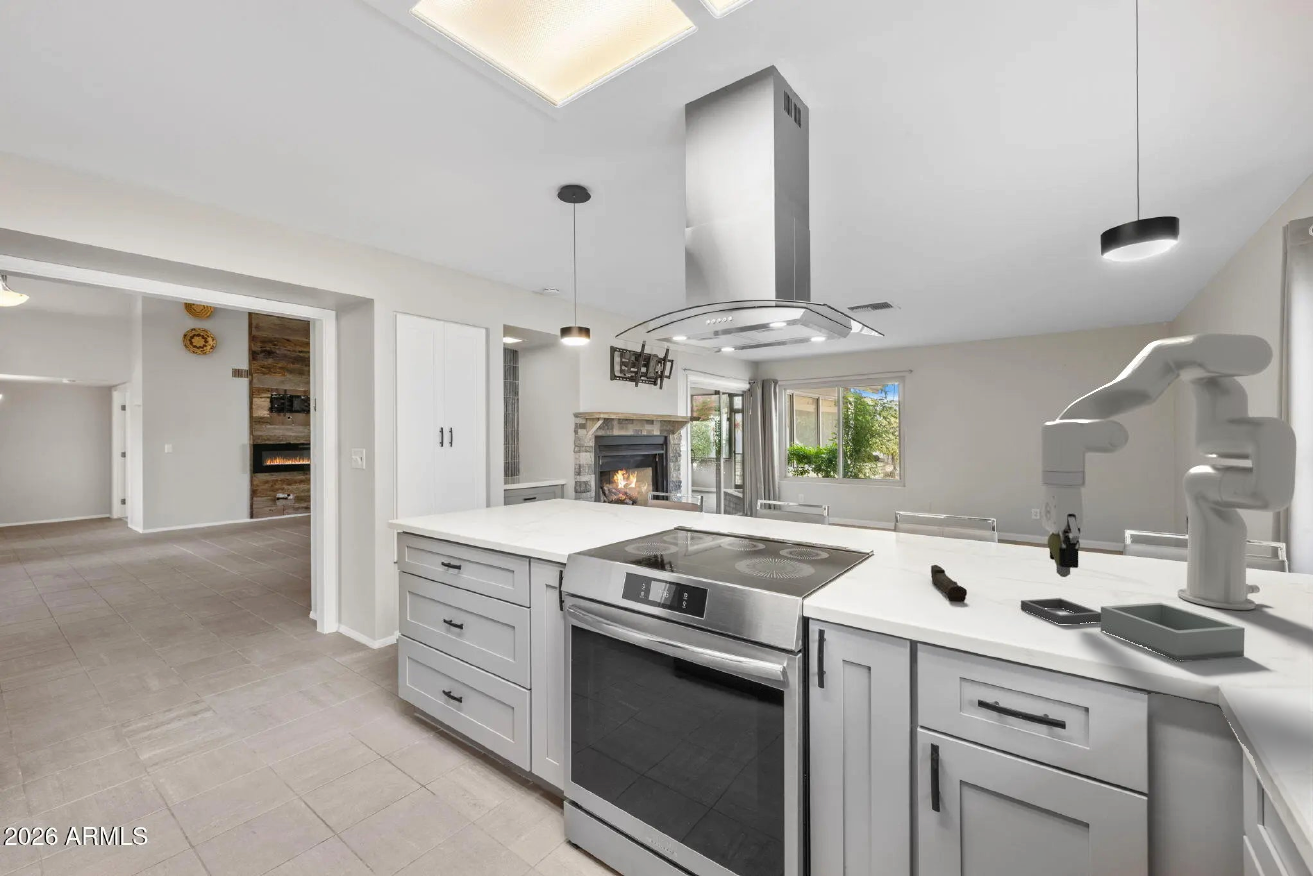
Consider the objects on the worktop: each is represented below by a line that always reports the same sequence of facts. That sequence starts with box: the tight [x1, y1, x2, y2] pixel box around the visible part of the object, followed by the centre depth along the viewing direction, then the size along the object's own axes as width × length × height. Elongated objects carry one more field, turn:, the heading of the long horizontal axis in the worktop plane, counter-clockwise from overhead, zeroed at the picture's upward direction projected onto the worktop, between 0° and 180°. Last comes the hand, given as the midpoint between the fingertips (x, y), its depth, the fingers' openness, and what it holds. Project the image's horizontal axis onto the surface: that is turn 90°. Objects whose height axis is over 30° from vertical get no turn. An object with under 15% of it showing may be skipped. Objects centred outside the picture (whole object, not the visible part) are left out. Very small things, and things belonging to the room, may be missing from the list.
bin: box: [1100, 602, 1245, 662], centre depth 103 cm, size 14×14×5 cm
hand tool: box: [930, 564, 968, 603], centre depth 136 cm, size 19×4×5 cm, turn 167°
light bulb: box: [1046, 531, 1081, 578], centre depth 118 cm, size 6×6×10 cm
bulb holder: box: [1020, 597, 1101, 625], centre depth 118 cm, size 10×10×2 cm
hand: (1063, 562), depth 118 cm, fingers closed on light bulb, 5 cm apart
